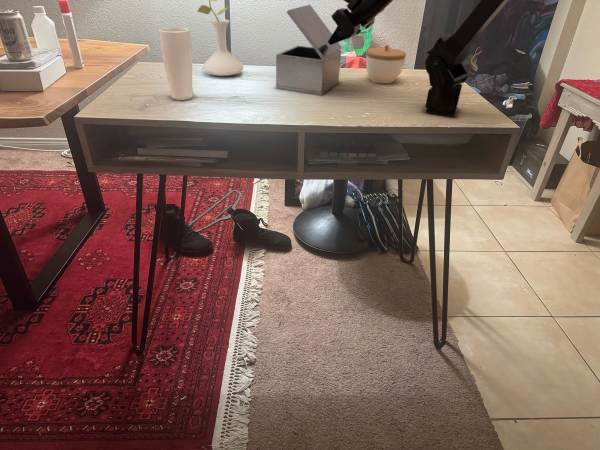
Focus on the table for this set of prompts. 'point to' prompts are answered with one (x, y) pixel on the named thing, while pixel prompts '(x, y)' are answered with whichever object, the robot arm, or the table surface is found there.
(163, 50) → the drinking glass
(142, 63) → the table surface
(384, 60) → the trinket box
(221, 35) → the flower in vase
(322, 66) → the tin
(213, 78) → the table surface
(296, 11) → the lid
